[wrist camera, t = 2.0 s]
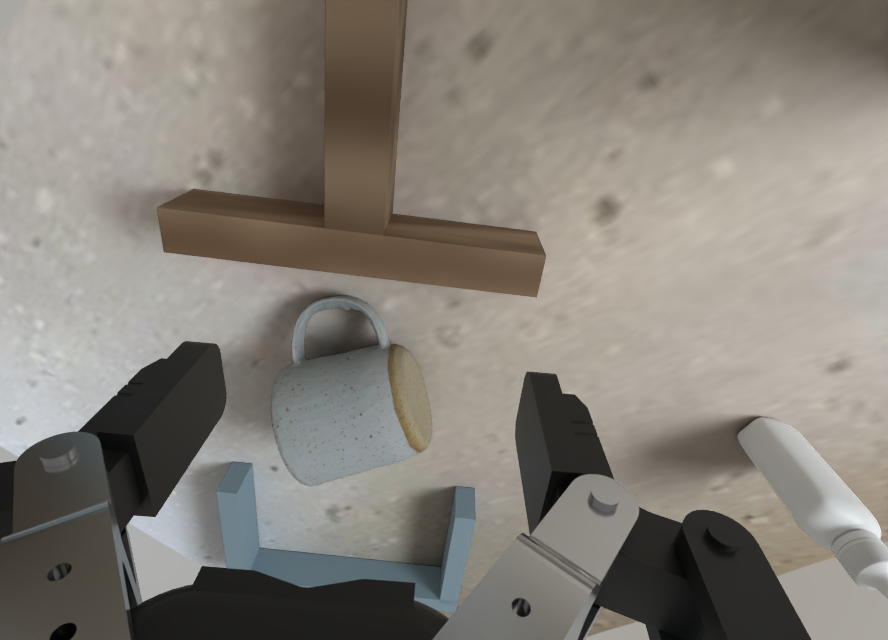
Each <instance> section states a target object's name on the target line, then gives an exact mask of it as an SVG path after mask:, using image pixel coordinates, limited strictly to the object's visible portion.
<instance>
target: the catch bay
mask: <svg viewBox="0 0 888 640" xmlns="http://www.w3.org/2000/svg"><path fill="white" fill-rule="evenodd" d="M216 495H217V502H218V510H219V517H220V524H221V531H222V538H223V545H224V553H225V560H226V567H227V568H231V569H244V570H255V571H258V572H261V573H264V574H266V575H269V576H272V577H275V578H278V579H281V580H283V581H286V582H289V583H292V584H295V585H297V586H300V587H306V588H309V587H316V586H322V585H328V584H335V583H341V582H347V581H353V580H359V579H373V580H386V581H399V582H412V583H415V595H414V600H415V601H418V602H421V603H423V604H426V605H428V606H429V607H431V608H433V609H435V610H437V611H444V612H454V613H455V611H456V608H457V603H458V599H459V594H460V589H461V585H462V580H463V576H464V571H465V566H466V562H467V557H468V553H469V548H470V543H471V539H472V534H473V530H474V525H475V520H476V516H475V488H467V487H458V486H456V488H455V494H454V499H453V505H452V510H451V516H450V521H449V527H448V532H447V538H446V543H445V549H444V554H443V560H442V565H441V567H435V566H425V565H416V564H406V563H397V562H387V561H378V560H368V559H359V558H349V557H340V556H330V555H321V554H311V553H302V552H292V551H283V550H273V549H264V548H259V536H258V525H257V514H256V502H255V491H254V479H253V468H252V464H249V463H240V462H232V464H231V466H230V468H229V469H228V471H227V473H226V475H225V477H224V478H223V480H222V482H221V484H220V485H219V487H218V489H217V491H216Z"/></svg>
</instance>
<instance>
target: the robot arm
mask: <svg viewBox="0 0 888 640" xmlns="http://www.w3.org/2000/svg"><path fill="white" fill-rule="evenodd" d="M225 404H226V387H225V381H224V374H223V367H222V360H221V353H220V349H219V347H218V345H217V344H212V343H201V342H189V341H185V342H183V343H182V344H181V345H180V346H179V347H178V348H177V349H176V350H175V351H174V352H173V353H172V354H171V355H170V356H169V357H168V358H167V359H162V358H161V359H159V360H157V361H156V362H154V363H152V364H150V365H148V366H146V367H144V368H143V369H141V370H140V371H139V372H138V373H137V374H136V375H135V376H134V377H133V378H132V379H131V380H130V381H129V382H128V385H125V386H124V387H123V388H122V389H121V390H120V391H119V392H118V393H117V396H114V397H113V398H112V399H111V400H110V401H109V402H108V403H107V404H106V405H105V406H104V407H102V408H101V409H100V410H99V411H98V412H97V413H96V414H95V415H94V416H93V417H92V418H91V419H90V420H89V421H88V422H87V423H86V424H85V425H84V426H83V427H82V428H81V429H80V430H79V431H78V432H68V433H63V434H58V435H55V436H52V437H49V438H47V439H44V440H42V441H40V442H38V443H36V444H34V445H33V446H31V447H30V448H28V449H27V450H26V451H25V452H23V453H22V454H21V455H20V457H19V458H18V459H17V461H11V462H4V463H0V640H585V639H586V637H587V635H588V633H589V632H590V630H591V628H592V626H593V624H594V622H595V620H596V619H597V617H598V615H599V613H600V611H601V609H602V607H604V608H606V609H609V610H611V611H614V612H616V613H619V614H621V615H624V616H626V617H629V618H631V619H634V620H636V621H639V622H642V623H644V624H646V628H647V631H648V635H649V639H650V640H811V638H810V636H809V634H808V633H807V631H806V629H805V627H804V625H803V624H802V622H801V620H800V618H799V616H798V615H797V613H796V611H795V609H794V607H793V606H792V604H791V602H790V600H789V598H788V597H787V595H786V593H785V591H784V589H783V588H782V586H781V584H780V582H779V580H778V579H777V577H776V575H775V573H774V571H773V569H772V568H771V566H770V564H769V562H768V560H767V559H766V557H765V555H764V553H763V551H762V550H761V548H760V546H759V544H758V543H757V541H756V540H755V538H754V537H753V536H752V535H751V533H750V532H749V531H748V530H746V529H745V528H744V527H743V526H742V525H740V524H739V523H738V522H736V521H735V520H733V519H731V518H729V517H727V516H725V515H723V514H720V513H717V512H714V511H709V510H696V511H693V512H691V513H689V514H687V516H686V517H685V518H684V520H683V523H680V522H677V521H674V520H671V519H668V518H665V517H662V516H659V515H656V514H653V513H651V512H648V511H646V510H644V509H642V508H640V507H639V505H638V503H637V500H636V498H635V497H634V495H633V494H632V493H631V492H630V491H629V490H628V489H627V488H626V487H625V486H624V485H622V484H621V483H619V482H618V481H616V480H614V478H613V475H612V472H611V470H610V467H609V464H608V462H607V459H606V456H605V453H604V451H603V448H602V445H601V443H600V440H599V437H597V432H596V429H595V427H594V425H593V421H592V419H591V416H590V413H589V411H588V408H587V407H586V406H585V405H584V404H583V403H582V402H581V401H580V400H579V399H578V397H577V396H576V395H572V394H562V391H561V388H560V384H559V381H558V378H557V375H556V374H550V373H539V372H527V373H526V375H525V378H524V383H523V388H522V393H521V398H520V403H519V409H518V414H517V419H516V429H515V438H516V447H517V453H518V460H519V466H520V473H521V479H522V486H523V492H524V499H525V506H526V512H527V519H528V525H529V532H530V536H529V537H528V536H527V535H525V534H524V533H522V534H520V535H518V536H517V537H516V538H515V539H514V541H513V542H512V543H511V544H510V545H509V547H508V548H507V549H506V550H505V551H504V553H503V554H502V555H501V556H500V558H499V559H498V560H497V561H496V562H495V564H494V565H493V566H492V567H491V569H490V570H489V571H488V572H487V573H486V575H485V576H484V577H483V578H482V580H481V581H480V582H479V583H478V584H477V586H476V587H475V588H474V589H473V591H472V592H471V593H470V594H469V595H468V597H467V598H466V599H465V600H464V602H463V603H462V604H461V605H460V606H459V608H458V609H457V610H456V611H455V613H454V614H453V615H452V616H451V617H450V619H448V618H447V617H446V616H444V615H443V614H441V613H440V612H438V611H437V610H435V609H433V608H431V607H429V606H428V605H426V604H423V603H421V602H418V601H415V600H414V595H415V583H412V582H399V581H386V580H373V579H359V580H353V581H347V582H341V583H335V584H328V585H322V586H316V587H309V588H306V587H300V586H297V585H295V584H292V583H289V582H286V581H283V580H281V579H278V578H275V577H272V576H269V575H266V574H264V573H261V572H258V571H255V570H244V569H231V568H218V567H205V566H202V567H201V569H200V572H199V573H198V576H197V577H196V579H195V581H194V583H193V585H187V586H184V587H180V588H176V589H173V590H170V591H167V592H165V593H162V594H159V595H157V596H155V597H153V598H151V599H148V600H146V601H144V602H142V598H141V594H140V588H139V583H138V578H137V573H136V569H135V563H134V558H133V553H132V548H131V544H130V538H129V534H128V531H127V527H126V526H127V524H128V523H129V521H130V520H131V518H132V517H133V516H134V515H136V516H149V517H156V515H157V514H158V512H159V511H160V509H161V508H162V506H163V504H164V503H165V501H166V500H167V498H168V497H169V495H170V494H171V492H172V491H173V489H174V488H175V486H176V485H177V483H178V482H179V480H180V479H181V477H182V476H183V474H184V473H185V471H186V470H187V468H188V466H189V465H190V463H191V462H192V460H193V459H194V457H195V456H196V454H197V453H198V451H199V450H200V448H201V447H202V445H203V444H204V442H205V441H206V439H207V438H208V436H209V435H210V433H211V431H212V430H213V428H214V427H215V425H216V424H217V422H218V421H219V419H220V418H221V416H222V414H223V412H224V408H225Z"/></svg>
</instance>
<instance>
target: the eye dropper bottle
mask: <svg viewBox="0 0 888 640" xmlns="http://www.w3.org/2000/svg"><path fill="white" fill-rule="evenodd" d="M737 438H738V441H739V443H740V444H741V446H742V448H743V449H744V451H745V452H746V453H747V455H748V456H749V458H750V459H751V460H752V462H753V463H754V465H755V466H756V467H757V469H758V470H759V472H760V473H761V474H762V476H763V477H764V479H765V480H766V481H767V483H768V484H769V486H770V487H771V488H772V490H773V491H774V493H775V494H776V495H777V497H778V498H779V499H780V501H781V502H782V504H783V505H784V506H785V508H786V509H787V511H788V512H789V513H790V515H791V516H792V517H793V519H794V520H795V522H796V523H797V524H798V525H799V527H800V528H801V529H802V530H803V531H804V533H805V534H806V535H807V536H808V537H810V538H811V539H812V540H813V541H814V542H816V543H817V544H819V545H820V546H822V547H824V548H826V549H827V550H830V551H832V552H833V554H834V555H835V557H836V558H837V559H838V560H839V562H840V563H841V564H842V566H843V567H844V569H845V570H846V571H847V573H848V574H849V575H850V577H851V578H852V579H853V581H854V582H855V583H856V584H857V585H858V586H860V587H862V588H865V589H877V590H879V591H880V592H881V593H882V594H883V595H884V596H885V597H886V598H887V599H888V548H887V547H886V546H885V545H884V543H883V542H882V541H881V540H880V538H881V529H880V526H879V524H878V522H877V520H876V519H875V517H874V516H873V515H872V514H871V512H870V511H869V510H868V509H867V508H866V507H865V506H864V504H863V503H862V502H861V501H860V500H859V499H858V498H857V496H856V495H855V494H854V493H853V492H852V491H851V490H850V489H849V487H848V486H847V485H846V484H845V483H844V482H843V481H842V480H841V479H840V477H839V476H838V475H837V474H836V473H835V472H834V471H833V470H832V468H831V467H830V466H829V465H828V464H827V463H826V462H825V461H824V459H823V458H822V457H821V456H820V455H819V454H818V453H817V452H816V450H815V449H814V448H813V447H812V446H811V445H810V444H809V443H808V442H807V440H806V439H805V438H804V437H803V436H802V435H801V434H800V433H799V432H798V431H797V430H795V429H794V428H793V427H791V426H789V425H788V424H786V423H783V422H781V421H778V420H775V419H770V418H764V417H762V418H757V419H755V420H754V421H752V422H751V423H750V424H749V425H747V426H746V427H745V428H744V429H742V430H741V431H740V432H739V434H738V437H737Z"/></svg>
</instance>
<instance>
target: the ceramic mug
mask: <svg viewBox="0 0 888 640" xmlns="http://www.w3.org/2000/svg"><path fill="white" fill-rule="evenodd" d="M333 308H343V309H345V310H350V309H355V310H360V311H361V312H362V313H363V314H364V315H365V316H366V317H367V318H368V319H369V320H370V322H371V324H372V326H373V328H374V331H375V333H376V336H377V339H378V345H375V346H370V347H365V348H362V349H357V350H352V351H350V352H346V353H341V354H335V355H329V356H324V357H318V358H315V359H311V360H310V359H309V360H307V359H306V357H305V350H304V338H305V331H306V327H307V324H308V321H309V320H310V318H311V316H312V315H313V314H315V313H317V312H318V311H322V310H327V309H333ZM291 349H292V362H293V364H290V365H288V366H286V367H284V368H283V369H282V370H281V371H280V372H279V374H278V375H277V377H276V380H275V382H274V385H273V390H272V399H271V416H272V426H273V430H274V434H275V439H276V443H277V446H278V450H279V452H280V454H281V457H282V459H283V461H284V463H285V465H286V467H287V469H288V470H289V472H290V473H291V474H292V475H293V477H294V478H295V479H296V480H298V481H299V482H300V483H302V484H304V485H307V486H316V485H320V484H323V483H326V482H329V481H333V480H336V479H340V478H343V477H347V476H351V475H354V474H358V473H361V472H365V471H368V470H371V469H374V468H378V467H382V466H386V465H390V464H393V463H397V462H400V461H404V460H406V459H408V458H410V457H412V456H415V455H417V454H419V453H420V452H422V451H424V450H425V449H426V448H427V446H428V445H429V443H430V441H431V437H432V417H431V410H430V404H429V399H428V395H427V391H426V387H425V384H424V380H423V377H422V374H421V372H420V369H419V366H418V364H417V362H416V360H415V358H414V356H413V355H412V354H411V352H410V351H409V350H407V349H406V348H405V347H403V346H401V345H398V344H391V343H390V342H389V340H388V335H387V331H386V328H385V326H384V324H383V322H382V320H381V319H380V317H379V315H378V314H377V312H376V311H375V310H374V309H373V308H372V307H371V306H370V305H369V304H367V303H366V302H364V301H362V300H360V299H358V298H354V297H350V296H333V297H327V298H322V299H319V300H317V301H314V302H312V303H311V304H309V305H308V306H307V307H306V308H305V309H304V310H303V311H302V312H301V314H300V315H299V317H298V319H297V321H296V323H295V327H294V329H293V335H292V345H291Z"/></svg>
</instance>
